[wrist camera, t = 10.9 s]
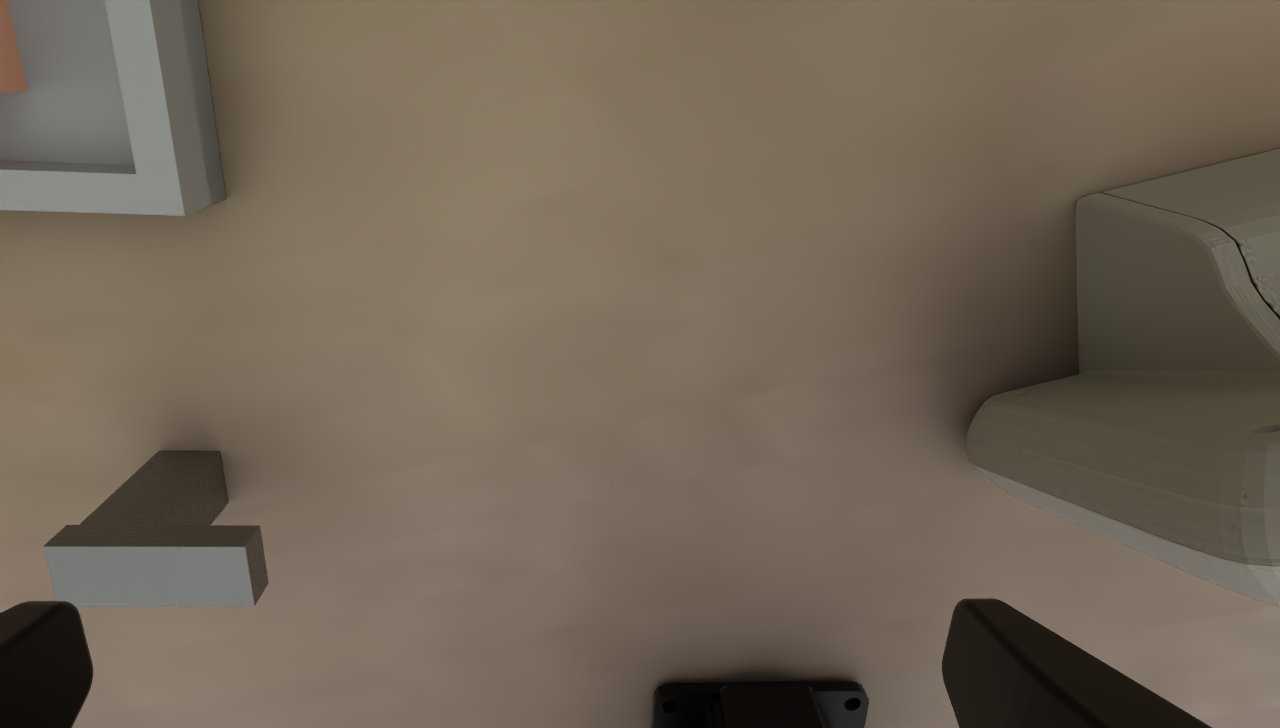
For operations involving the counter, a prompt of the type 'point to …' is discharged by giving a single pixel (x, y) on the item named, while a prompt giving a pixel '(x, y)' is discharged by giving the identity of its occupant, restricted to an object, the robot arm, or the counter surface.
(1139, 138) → the counter surface
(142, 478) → the gray t-shaped block
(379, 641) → the counter surface
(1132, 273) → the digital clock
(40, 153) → the tray
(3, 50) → the salmon slotted frame
